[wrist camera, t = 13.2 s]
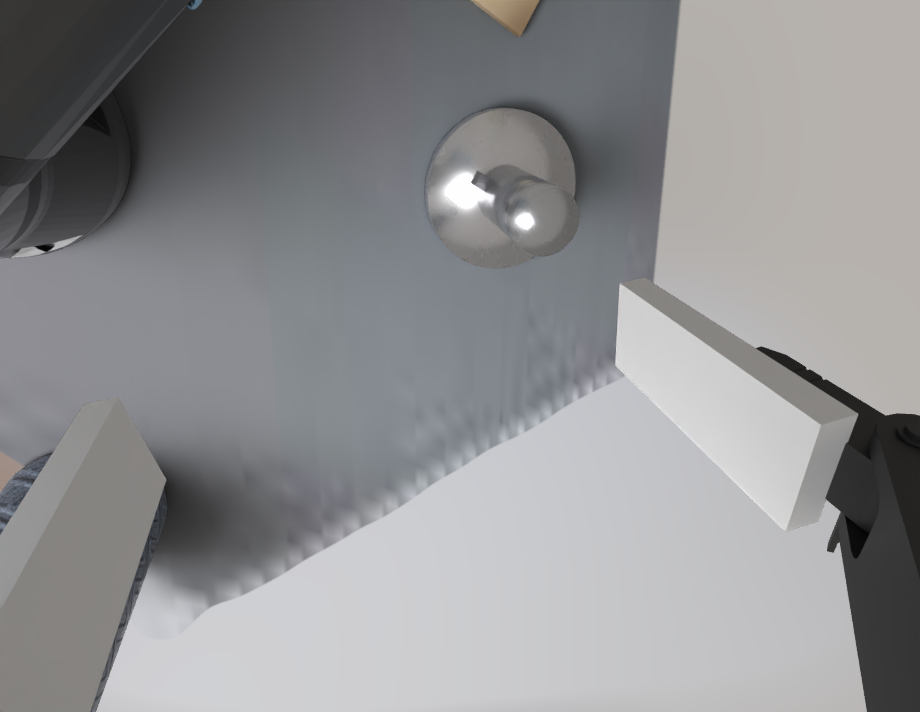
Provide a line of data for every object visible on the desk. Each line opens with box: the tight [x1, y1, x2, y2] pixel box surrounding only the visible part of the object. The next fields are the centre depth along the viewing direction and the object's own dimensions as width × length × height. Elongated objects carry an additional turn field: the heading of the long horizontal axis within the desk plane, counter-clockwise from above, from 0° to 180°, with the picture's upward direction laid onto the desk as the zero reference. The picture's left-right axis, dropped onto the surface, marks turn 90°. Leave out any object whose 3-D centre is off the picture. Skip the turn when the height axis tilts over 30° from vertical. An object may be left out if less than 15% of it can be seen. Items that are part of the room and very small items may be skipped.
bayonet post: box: [424, 107, 579, 268], centre depth 37 cm, size 12×12×10 cm
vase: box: [0, 454, 167, 712], centre depth 33 cm, size 12×12×28 cm
